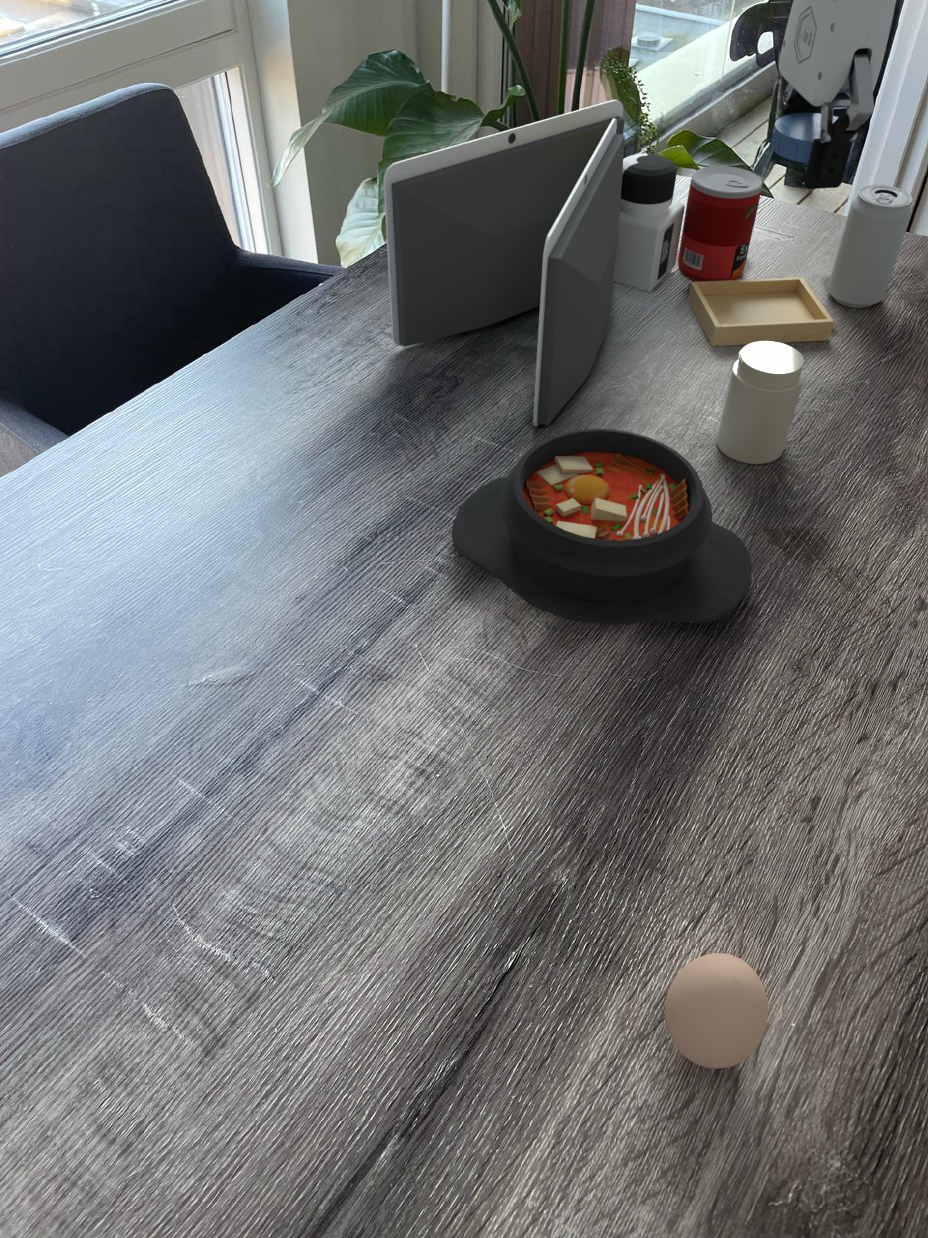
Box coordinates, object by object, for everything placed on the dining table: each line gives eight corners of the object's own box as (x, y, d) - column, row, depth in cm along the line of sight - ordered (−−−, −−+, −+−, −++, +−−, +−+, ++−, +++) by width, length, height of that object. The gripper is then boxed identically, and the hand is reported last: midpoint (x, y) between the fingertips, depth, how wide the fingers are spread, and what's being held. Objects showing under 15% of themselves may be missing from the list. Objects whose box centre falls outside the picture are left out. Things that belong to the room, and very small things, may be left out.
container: (675, 266, 121) (694, 155, 111) (650, 293, 116) (667, 179, 107) (617, 251, 124) (630, 141, 114) (590, 276, 119) (601, 164, 110)
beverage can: (886, 290, 118) (920, 188, 109) (877, 315, 114) (912, 211, 105) (831, 279, 119) (860, 178, 111) (820, 303, 115) (850, 200, 107)
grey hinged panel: (570, 438, 97) (590, 242, 83) (359, 402, 101) (344, 210, 86) (627, 273, 120) (650, 99, 106) (454, 250, 124) (454, 79, 110)
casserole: (764, 531, 87) (787, 452, 81) (721, 681, 75) (745, 601, 69) (496, 465, 93) (499, 387, 87) (417, 593, 81) (414, 514, 75)
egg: (743, 997, 58) (776, 930, 52) (756, 1091, 54) (793, 1031, 49) (652, 991, 58) (675, 923, 52) (659, 1085, 55) (684, 1023, 49)
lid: (763, 156, 87) (768, 135, 85) (778, 128, 91) (782, 107, 90) (844, 168, 85) (850, 147, 84) (856, 139, 89) (861, 118, 88)
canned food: (744, 288, 118) (765, 194, 110) (675, 282, 119) (691, 189, 111) (742, 258, 123) (761, 167, 115) (676, 253, 124) (691, 162, 116)
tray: (797, 295, 117) (802, 276, 115) (828, 340, 110) (834, 321, 108) (687, 300, 116) (690, 281, 114) (711, 346, 109) (715, 327, 107)
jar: (771, 423, 99) (794, 336, 92) (792, 462, 94) (819, 374, 87) (708, 426, 98) (727, 340, 91) (726, 466, 94) (748, 378, 87)
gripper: (777, -92, 82) (734, 134, 95) (861, -38, 70) (799, 213, 83) (864, -94, 83) (810, 131, 96) (962, -41, 71) (885, 208, 84)
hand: (805, 167), depth 89 cm, fingers closed on lid, 6 cm apart
